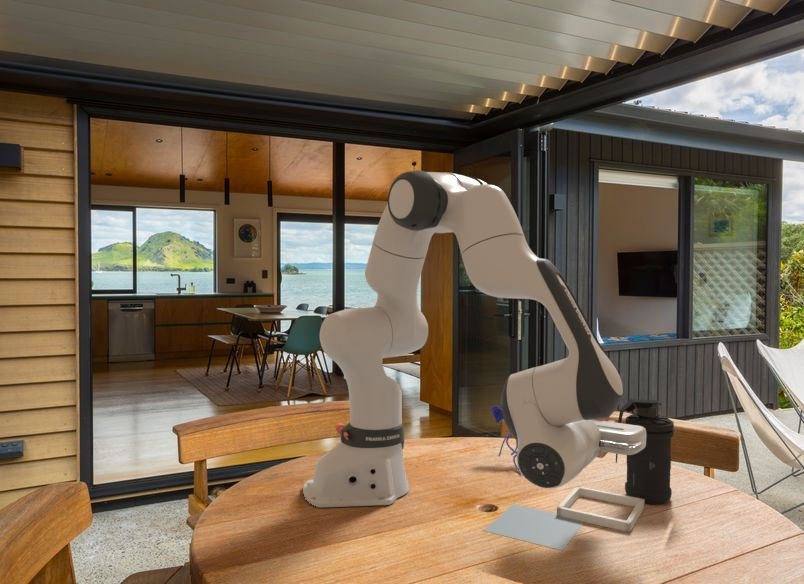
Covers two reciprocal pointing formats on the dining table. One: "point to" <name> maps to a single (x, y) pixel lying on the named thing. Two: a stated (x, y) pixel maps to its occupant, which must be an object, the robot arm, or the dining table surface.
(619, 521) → the box
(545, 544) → the plate
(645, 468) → the grenade
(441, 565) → the dining table surface
